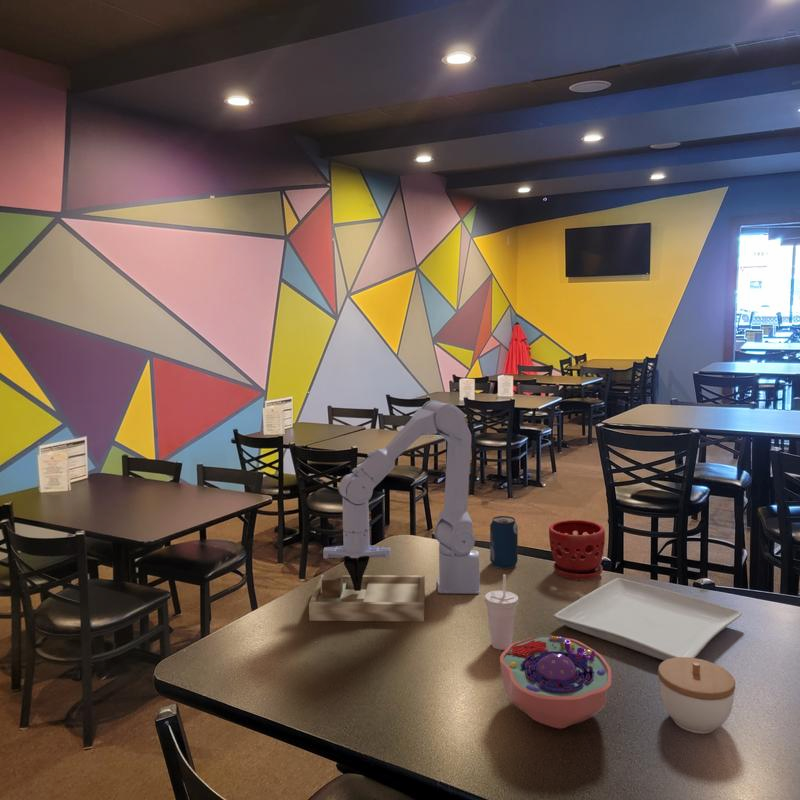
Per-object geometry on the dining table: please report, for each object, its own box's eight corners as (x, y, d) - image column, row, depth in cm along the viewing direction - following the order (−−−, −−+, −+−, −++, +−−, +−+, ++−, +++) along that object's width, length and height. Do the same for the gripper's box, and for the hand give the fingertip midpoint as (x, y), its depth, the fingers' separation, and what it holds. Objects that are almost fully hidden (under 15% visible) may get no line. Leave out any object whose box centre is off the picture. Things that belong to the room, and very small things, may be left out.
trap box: (424, 590, 153) (424, 575, 153) (423, 621, 138) (423, 604, 137) (322, 590, 155) (321, 575, 154) (309, 620, 139) (308, 603, 138)
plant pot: (573, 560, 171) (574, 515, 170) (615, 576, 161) (616, 528, 159) (537, 571, 164) (537, 524, 163) (578, 588, 153) (579, 538, 152)
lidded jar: (728, 708, 105) (730, 652, 104) (738, 749, 95) (741, 687, 94) (655, 697, 108) (657, 642, 107) (658, 735, 98) (660, 675, 97)
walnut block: (342, 590, 148) (342, 573, 148) (340, 597, 144) (339, 580, 144) (324, 590, 148) (324, 573, 148) (322, 597, 144) (321, 580, 144)
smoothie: (517, 654, 123) (518, 582, 122) (483, 651, 124) (483, 580, 123) (518, 638, 129) (519, 569, 128) (485, 636, 131) (485, 567, 129)
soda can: (522, 564, 169) (523, 518, 168) (507, 571, 164) (507, 524, 163) (500, 558, 174) (500, 513, 173) (484, 565, 169) (484, 519, 168)
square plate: (616, 591, 152) (616, 575, 152) (743, 628, 133) (744, 610, 133) (551, 630, 134) (551, 611, 133) (688, 680, 114) (688, 658, 114)
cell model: (604, 684, 112) (606, 621, 111) (615, 759, 93) (617, 683, 92) (504, 674, 116) (504, 612, 115) (494, 744, 97) (494, 671, 96)
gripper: (320, 535, 141) (322, 596, 142) (388, 534, 140) (389, 596, 141) (325, 525, 148) (327, 583, 149) (390, 524, 147) (391, 583, 148)
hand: (357, 589), depth 146 cm, fingers closed
